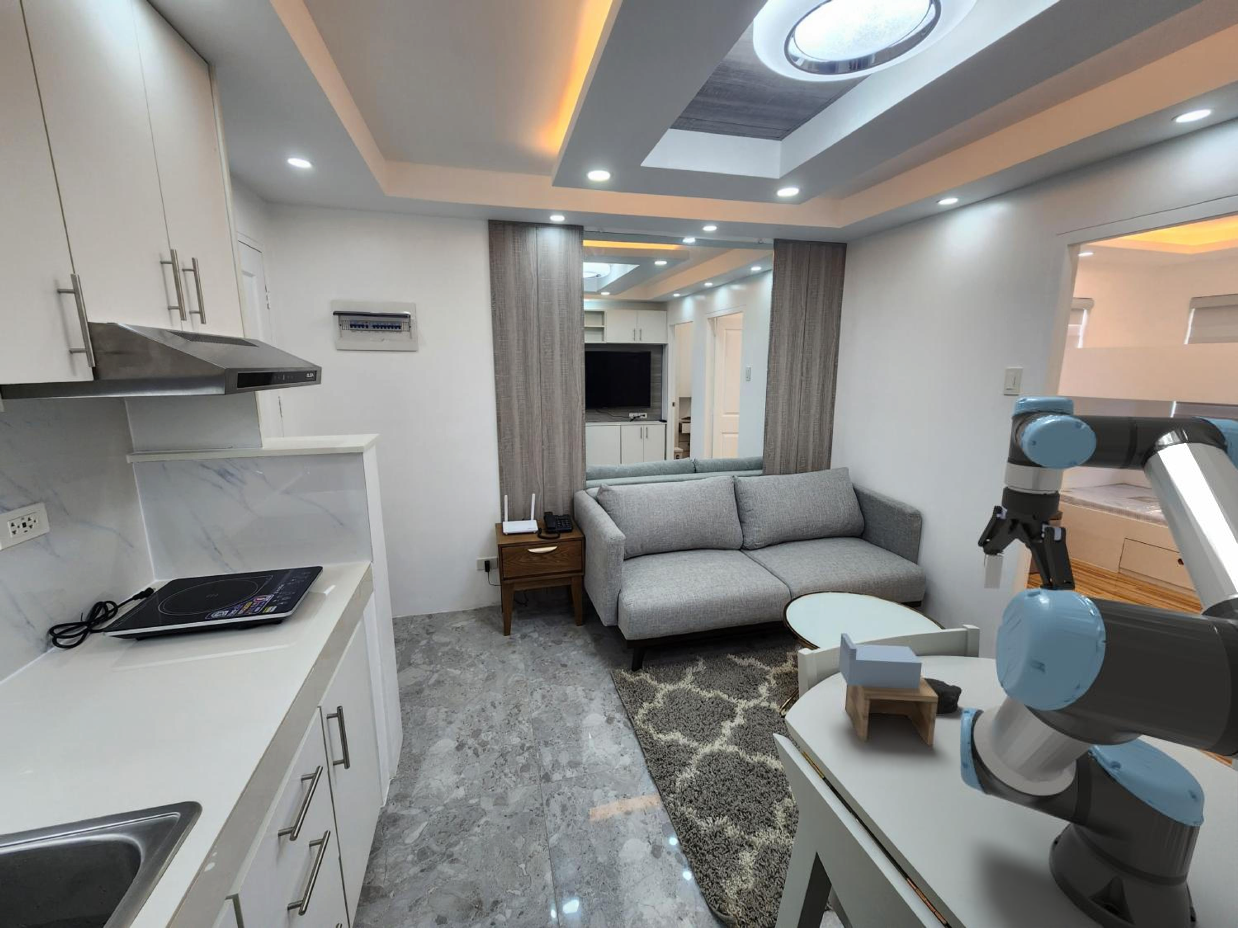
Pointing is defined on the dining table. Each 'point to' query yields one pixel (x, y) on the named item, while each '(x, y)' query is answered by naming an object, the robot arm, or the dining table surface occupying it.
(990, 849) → the dining table surface
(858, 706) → the open wooden crate
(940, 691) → the rock
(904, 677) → the lidded box
